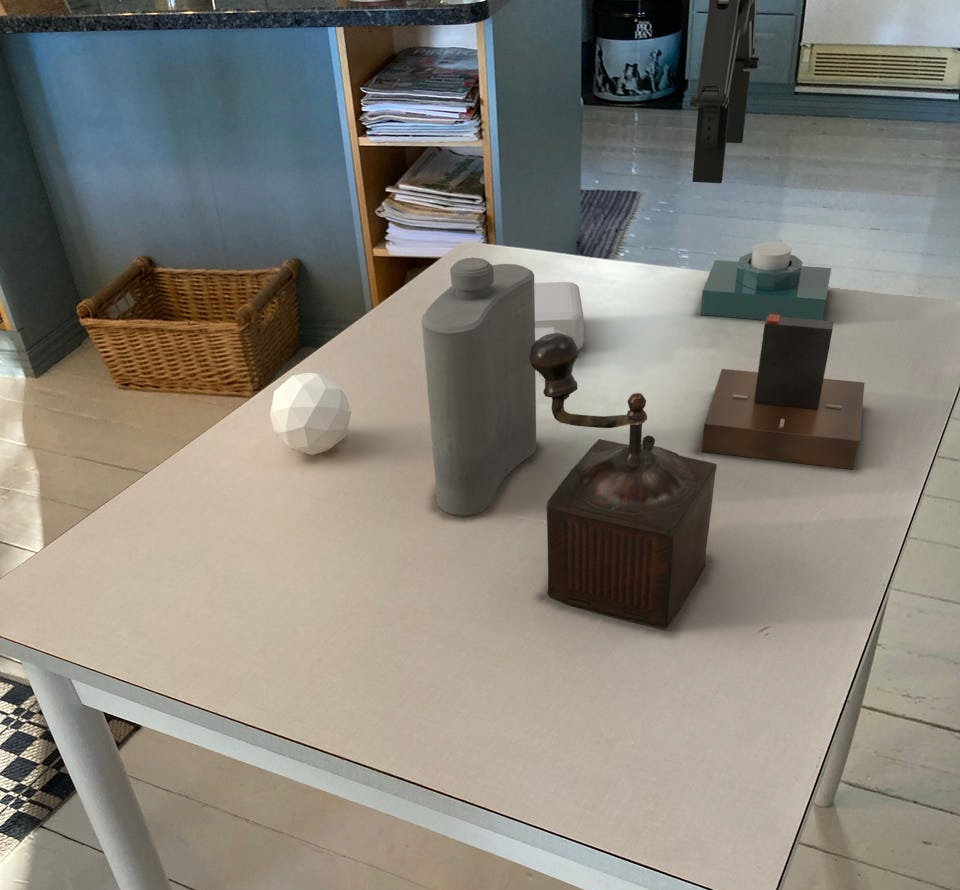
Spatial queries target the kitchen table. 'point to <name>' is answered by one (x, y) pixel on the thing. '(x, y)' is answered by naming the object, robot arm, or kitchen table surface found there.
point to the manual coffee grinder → (622, 511)
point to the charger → (559, 310)
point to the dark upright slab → (793, 361)
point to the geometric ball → (310, 413)
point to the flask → (480, 381)
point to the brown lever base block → (784, 423)
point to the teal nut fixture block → (765, 290)
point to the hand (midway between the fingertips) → (718, 161)
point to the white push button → (771, 256)
